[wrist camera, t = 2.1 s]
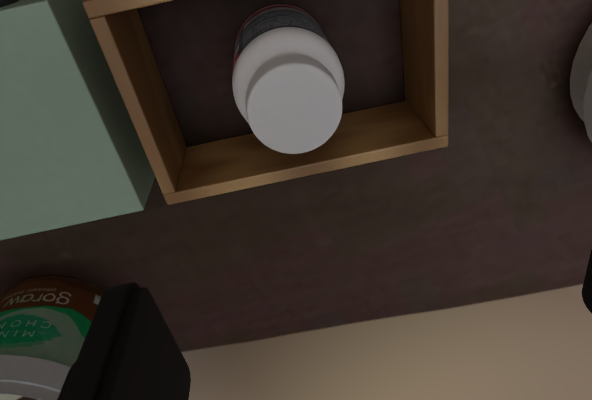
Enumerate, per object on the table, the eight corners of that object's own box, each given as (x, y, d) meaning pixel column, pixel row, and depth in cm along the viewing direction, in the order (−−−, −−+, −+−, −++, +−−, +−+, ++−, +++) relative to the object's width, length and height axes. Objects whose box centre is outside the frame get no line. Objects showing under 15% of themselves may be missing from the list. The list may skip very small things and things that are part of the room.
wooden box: (179, 158, 29) (167, 205, 24) (113, -17, 23) (80, 1, 18) (416, 108, 28) (448, 146, 24) (408, -83, 23) (449, -81, 18)
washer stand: (16, 197, 29) (-23, 245, 25) (-100, 18, 23) (-177, 42, 19) (158, 167, 29) (144, 210, 25) (81, -22, 23) (43, -7, 19)
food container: (109, 248, 32) (61, 367, 24) (141, 307, 35) (108, 429, 27) (-56, 282, 32) (-162, 412, 24) (-9, 337, 36) (-87, 468, 27)
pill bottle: (220, 21, 25) (208, 70, 17) (310, -12, 24) (339, 24, 17) (254, 108, 27) (256, 182, 20) (335, 80, 27) (370, 145, 19)
